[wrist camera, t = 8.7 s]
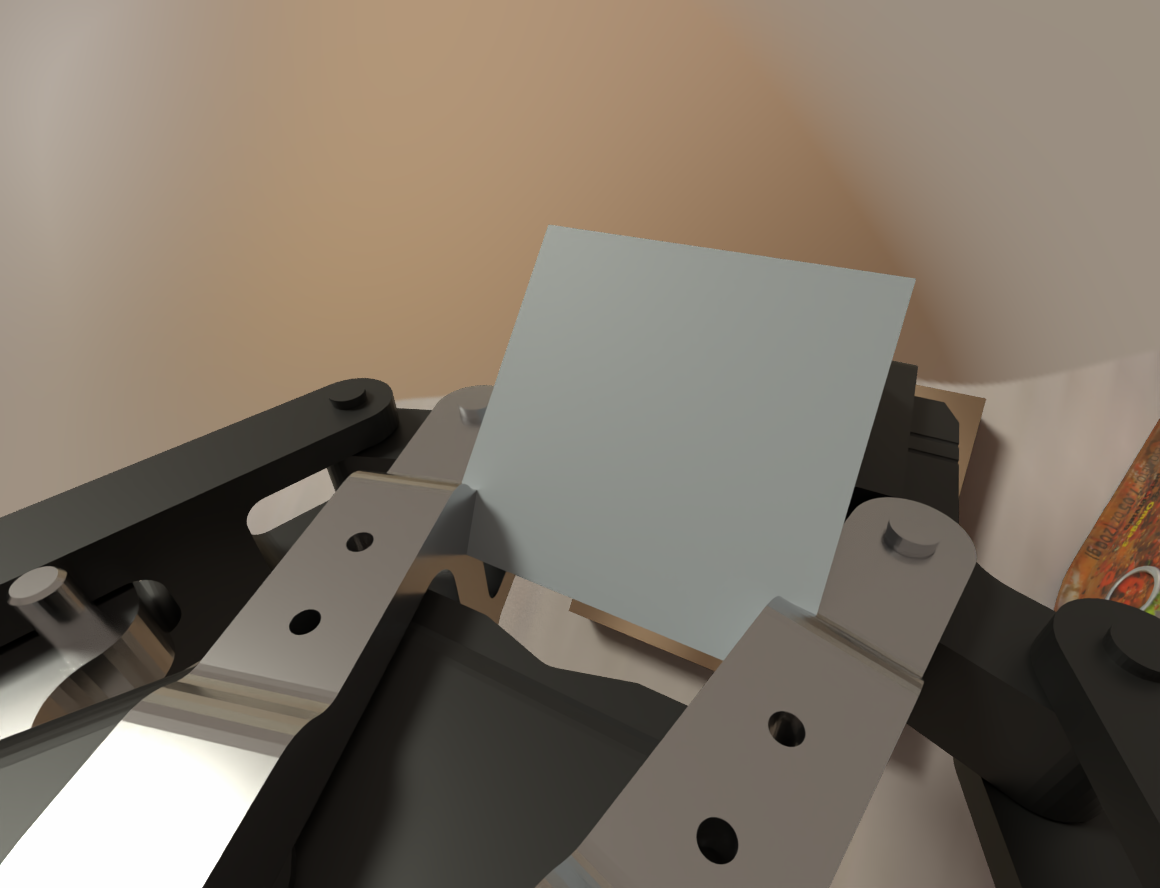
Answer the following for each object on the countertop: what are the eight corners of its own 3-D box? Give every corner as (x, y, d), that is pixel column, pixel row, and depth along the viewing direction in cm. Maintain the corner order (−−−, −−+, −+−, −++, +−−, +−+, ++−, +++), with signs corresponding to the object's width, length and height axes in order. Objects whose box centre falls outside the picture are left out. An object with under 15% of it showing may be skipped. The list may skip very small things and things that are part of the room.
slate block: (634, 547, 15) (440, 543, 7) (680, 400, 15) (548, 224, 7) (792, 603, 14) (794, 690, 5) (841, 441, 14) (915, 278, 6)
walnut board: (582, 606, 30) (568, 610, 28) (664, 345, 30) (655, 332, 29) (883, 729, 24) (891, 744, 22) (972, 409, 25) (986, 398, 23)
